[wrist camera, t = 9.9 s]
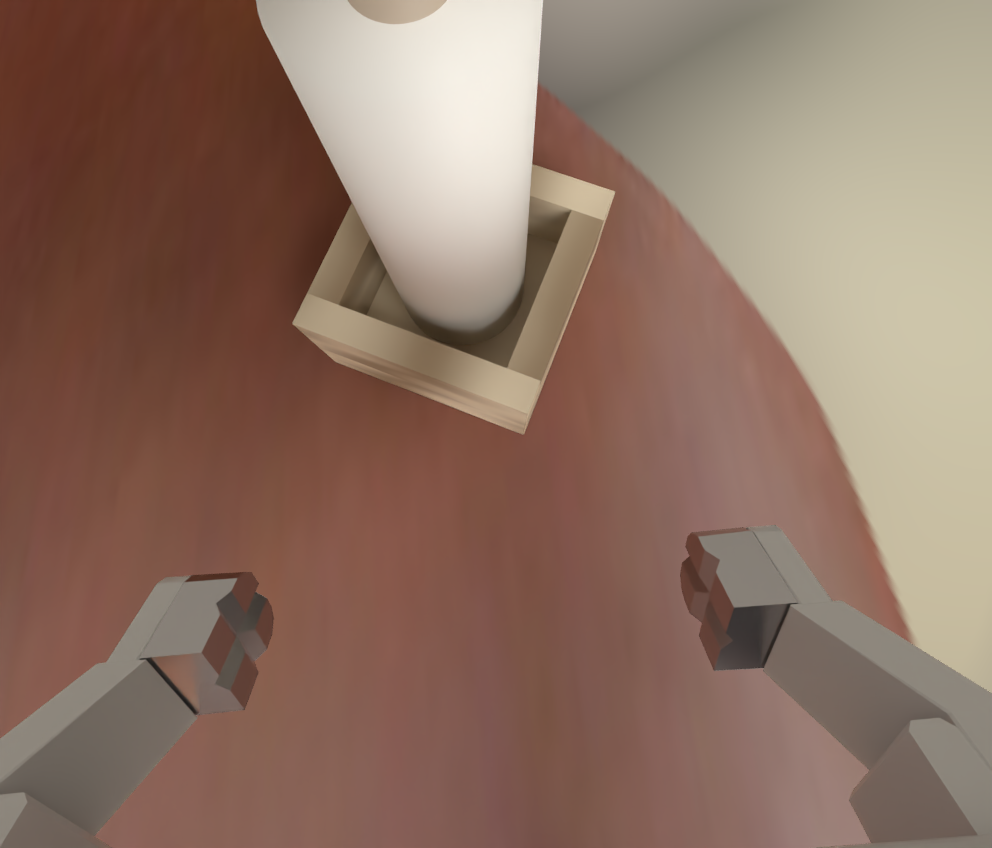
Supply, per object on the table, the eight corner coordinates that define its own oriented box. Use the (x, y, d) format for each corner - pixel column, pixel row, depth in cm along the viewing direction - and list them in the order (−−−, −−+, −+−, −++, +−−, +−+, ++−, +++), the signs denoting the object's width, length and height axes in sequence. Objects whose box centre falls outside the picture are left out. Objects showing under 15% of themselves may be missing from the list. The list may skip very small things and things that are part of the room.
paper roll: (383, 320, 20) (190, 26, 8) (431, 215, 21) (321, -199, 9) (497, 362, 20) (478, 120, 7) (541, 254, 20) (589, -126, 8)
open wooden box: (335, 362, 22) (292, 323, 18) (415, 192, 23) (393, 117, 19) (523, 434, 21) (527, 414, 17) (594, 254, 23) (615, 191, 18)
